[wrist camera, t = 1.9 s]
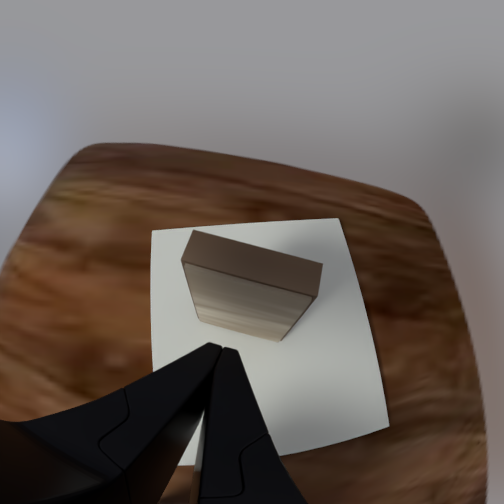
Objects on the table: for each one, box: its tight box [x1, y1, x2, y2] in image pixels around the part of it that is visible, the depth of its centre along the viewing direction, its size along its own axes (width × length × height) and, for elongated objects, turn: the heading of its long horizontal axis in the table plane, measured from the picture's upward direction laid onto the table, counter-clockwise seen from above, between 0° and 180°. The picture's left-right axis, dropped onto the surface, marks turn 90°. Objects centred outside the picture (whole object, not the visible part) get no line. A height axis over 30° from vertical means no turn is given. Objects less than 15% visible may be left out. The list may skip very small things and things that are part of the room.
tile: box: [181, 229, 323, 342], centre depth 17 cm, size 2×6×9 cm, turn 75°
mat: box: [151, 218, 389, 465], centre depth 21 cm, size 18×16×1 cm
